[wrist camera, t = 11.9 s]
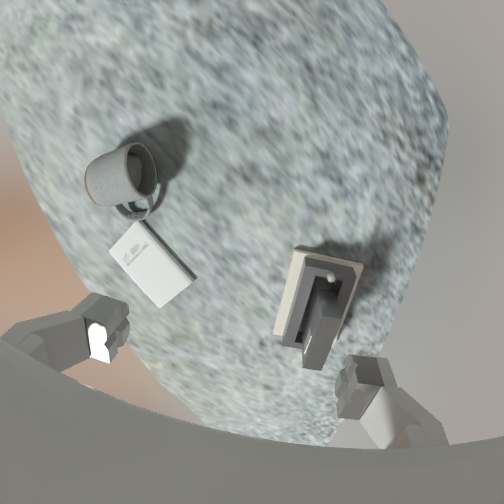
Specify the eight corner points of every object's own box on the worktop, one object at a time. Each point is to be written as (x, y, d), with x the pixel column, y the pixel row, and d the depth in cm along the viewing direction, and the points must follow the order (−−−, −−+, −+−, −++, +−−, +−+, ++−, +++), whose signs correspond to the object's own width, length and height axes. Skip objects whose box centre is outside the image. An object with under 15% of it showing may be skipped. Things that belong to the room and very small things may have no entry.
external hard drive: (162, 304, 48) (112, 248, 46) (195, 277, 46) (141, 216, 43) (159, 309, 47) (107, 252, 44) (192, 282, 44) (136, 219, 42)
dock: (294, 248, 42) (294, 263, 37) (362, 263, 41) (370, 279, 36) (273, 330, 47) (270, 351, 42) (333, 341, 46) (336, 362, 41)
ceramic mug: (104, 157, 40) (73, 164, 33) (149, 140, 38) (122, 142, 31) (123, 223, 44) (96, 240, 36) (169, 211, 42) (146, 227, 35)
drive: (315, 276, 42) (321, 315, 32) (332, 280, 41) (342, 319, 32) (301, 323, 45) (302, 367, 35) (316, 326, 44) (321, 370, 35)
